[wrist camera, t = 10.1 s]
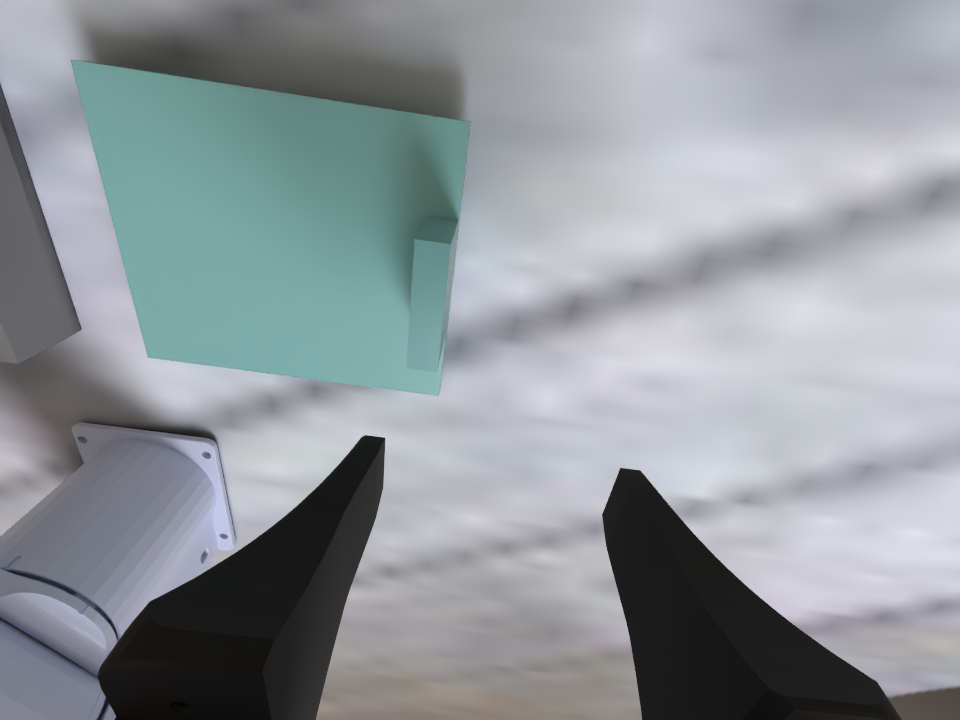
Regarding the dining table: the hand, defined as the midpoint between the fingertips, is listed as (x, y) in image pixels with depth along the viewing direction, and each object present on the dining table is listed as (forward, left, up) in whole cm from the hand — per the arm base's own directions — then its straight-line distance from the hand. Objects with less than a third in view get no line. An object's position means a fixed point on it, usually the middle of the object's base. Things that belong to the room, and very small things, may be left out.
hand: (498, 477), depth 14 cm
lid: (+3, +10, -9) cm, 13 cm away
